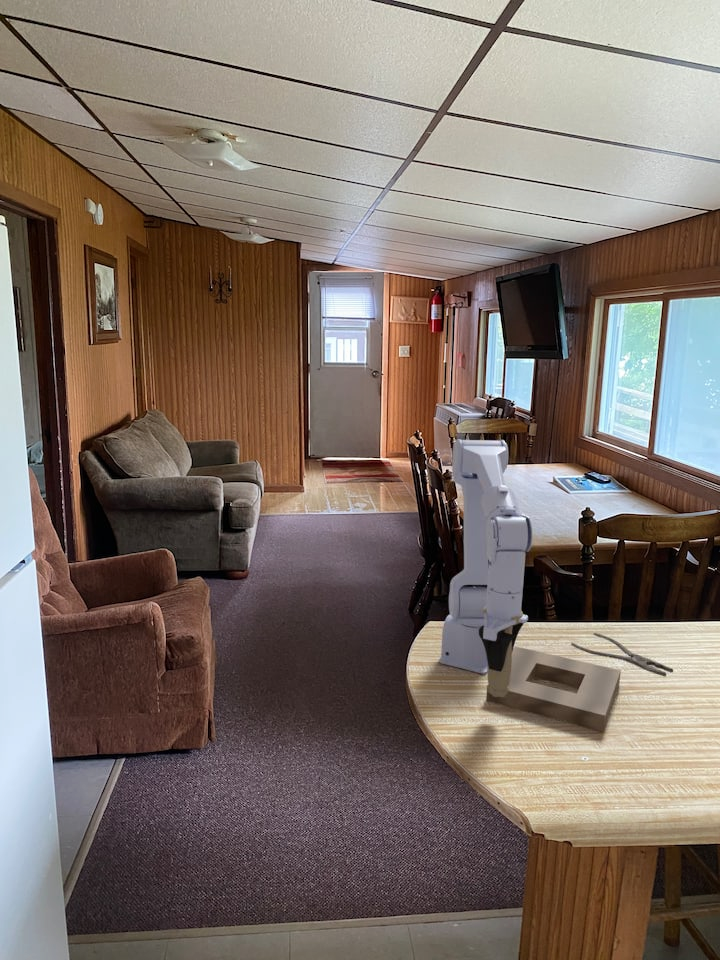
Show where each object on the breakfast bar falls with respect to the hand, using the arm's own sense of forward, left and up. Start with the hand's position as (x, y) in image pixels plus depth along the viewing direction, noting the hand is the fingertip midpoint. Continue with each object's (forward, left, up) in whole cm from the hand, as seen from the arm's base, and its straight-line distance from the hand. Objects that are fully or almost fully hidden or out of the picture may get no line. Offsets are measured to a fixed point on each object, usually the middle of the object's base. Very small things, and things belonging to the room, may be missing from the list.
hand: (499, 663), depth 118 cm
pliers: (+16, +37, -10) cm, 42 cm away
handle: (0, 0, -6) cm, 6 cm away
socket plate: (+7, +13, -10) cm, 18 cm away
